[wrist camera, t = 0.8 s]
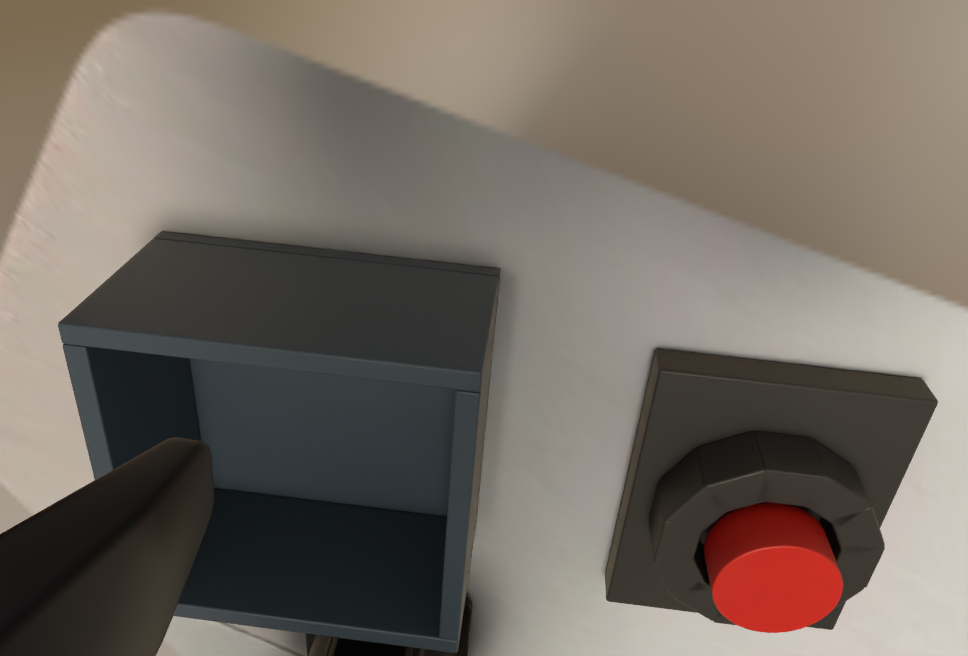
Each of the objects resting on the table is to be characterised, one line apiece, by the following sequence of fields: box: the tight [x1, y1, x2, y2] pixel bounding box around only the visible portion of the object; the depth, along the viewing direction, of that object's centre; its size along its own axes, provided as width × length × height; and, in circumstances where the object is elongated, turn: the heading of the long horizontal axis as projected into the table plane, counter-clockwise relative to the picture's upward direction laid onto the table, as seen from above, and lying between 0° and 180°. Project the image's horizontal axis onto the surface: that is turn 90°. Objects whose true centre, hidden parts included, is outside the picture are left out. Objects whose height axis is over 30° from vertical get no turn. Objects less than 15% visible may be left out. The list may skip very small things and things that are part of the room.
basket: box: [58, 232, 500, 653], centre depth 23 cm, size 10×10×6 cm
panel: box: [605, 349, 938, 630], centre depth 25 cm, size 10×8×3 cm
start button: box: [704, 503, 843, 633], centre depth 23 cm, size 4×4×2 cm
